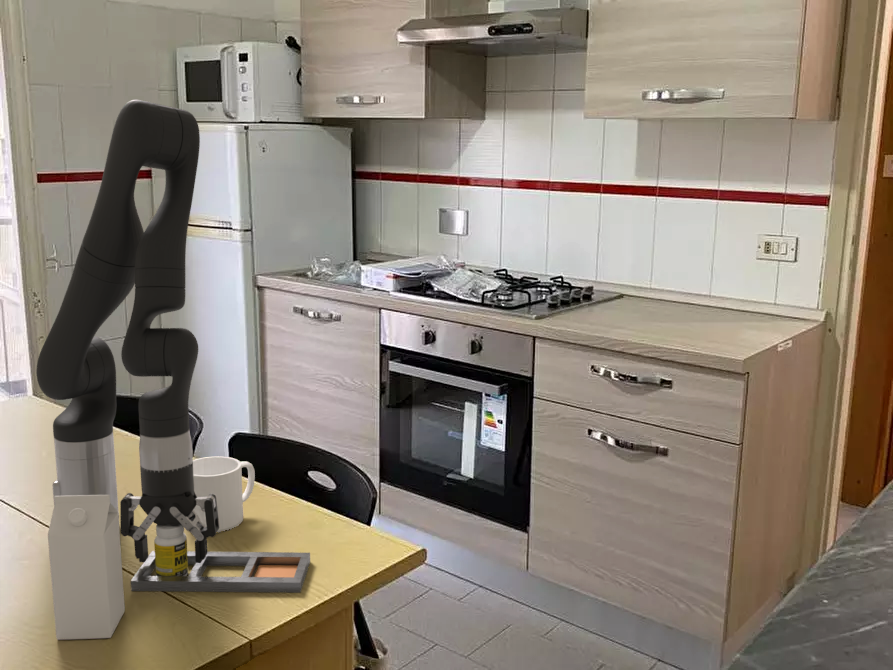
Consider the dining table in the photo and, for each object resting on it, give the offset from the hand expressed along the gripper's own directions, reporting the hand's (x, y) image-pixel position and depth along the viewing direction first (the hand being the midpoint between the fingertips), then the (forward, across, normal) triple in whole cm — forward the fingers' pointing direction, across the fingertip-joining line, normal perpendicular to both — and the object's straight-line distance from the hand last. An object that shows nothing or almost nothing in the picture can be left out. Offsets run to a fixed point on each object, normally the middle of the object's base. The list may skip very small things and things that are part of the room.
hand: (172, 560), depth 138 cm
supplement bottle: (+3, 0, 0) cm, 3 cm away
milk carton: (+3, -7, -15) cm, 17 cm away
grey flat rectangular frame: (+2, +8, 0) cm, 8 cm away
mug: (+3, +2, +21) cm, 21 cm away
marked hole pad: (+2, +16, 0) cm, 16 cm away
